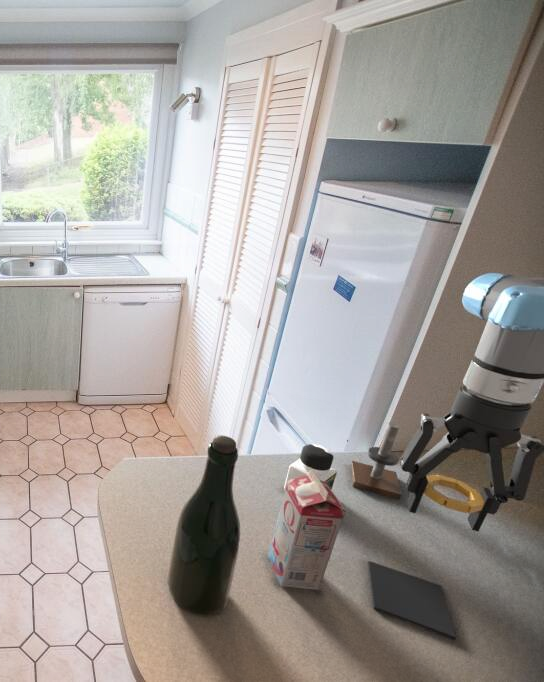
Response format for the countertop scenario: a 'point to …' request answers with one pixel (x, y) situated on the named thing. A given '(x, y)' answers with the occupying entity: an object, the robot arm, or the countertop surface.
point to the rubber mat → (410, 599)
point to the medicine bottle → (313, 464)
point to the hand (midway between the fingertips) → (441, 515)
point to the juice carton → (305, 532)
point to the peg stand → (379, 468)
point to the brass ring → (466, 507)
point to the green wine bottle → (207, 536)
